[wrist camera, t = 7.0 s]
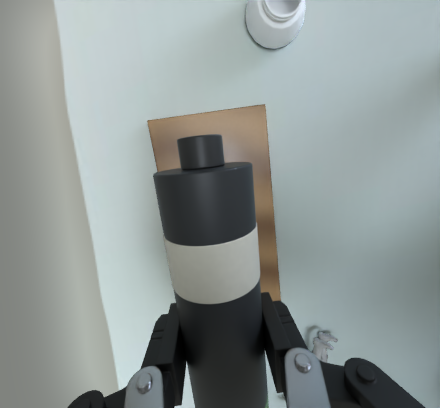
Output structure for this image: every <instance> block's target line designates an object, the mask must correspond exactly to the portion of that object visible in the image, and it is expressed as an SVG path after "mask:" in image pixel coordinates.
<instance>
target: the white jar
mask: <svg viewBox="0 0 440 408" xmlns="http://www.w3.org/2000/svg"><path fill="white" fill-rule="evenodd" d="M305 11H306V6H305V0H248V1H247V7H246V15H245V19H246V23H247V28H248V31H249V33H250V34H251V36H252V37H253V39H254V40H255V41H256V42H257V43H259V44H260V45H262V46H263V47H265V48H272V49H277V48H280V47H283V46H286V45H288V44H289V43H290V42H291V41H292V40H293V39H294V38H296V36H297V35H298V33H299V31H300V29H301V27H302V25H303V23H304V17H305Z"/></svg>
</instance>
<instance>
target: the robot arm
mask: <svg viewBox="0 0 440 408" xmlns="http://www.w3.org/2000/svg"><path fill="white" fill-rule="evenodd" d="M261 301H262V316H263V331H264V346H265V351H266V355H267V358H268V362H269V366H270V369H271V373H272V376H273V380H274V384H275V387H276V391H277V393H281V392H283V393H284V396H285V400H286V406H287V408H425V407H424V406H423V405H422V404H420V403H419V402H418V401H417V400H416V399H415V398H413V397H412V396H411V395H410V394H409V393H408V392H406V391H405V390H404V389H403V388H402V387H401V386H399V385H398V384H397V383H396V382H395V381H394V380H392V379H391V378H390V377H389V376H388V375H387V374H385V373H384V372H383V371H382V370H381V369H380V368H378V367H377V366H376V365H375V364H373V363H371V362H369V361H367V360H365V359H361V358H351V359H348V360H347V361H346V362H345V365H344V366H339V365H334V364H329V363H326V362H323V361H321V360H319V359H318V358H317V357H316V356H315V355H314V354H313V353H312V352H311V351H309V350H308V348H307V346H306V344H305V342H304V340H303V338H302V336H301V334H300V332H299V330H298V328H297V326H296V324H295V323H294V320H293V318H292V316H291V314H290V312H289V310H288V308H287V306H286V305H284V304H283V303H282V302H281V301H280V300H279V301H272V298H271V296H270V294H269V292H263V293H261ZM186 361H187V359H186V354H185V348H184V343H183V337H182V332H181V326H180V321H179V315H178V310H177V304H176V303H172V304H171V305H170V309H169V313H168V314H163V315H161V316H160V318H159V319H158V320H157V321H156V323H155V326H154V329H153V333H152V335H151V340H150V342H149V345H148V348H147V351H146V354H145V357H144V360H143V363H142V366H141V369H140V370H139V371H138V372H136V373H135V374H134V375H133V377H132V378H131V379H130V381H129V383H128V385H127V386H126V387H125V388H123V389H122V390H120V391H117V392H115V393H113V394H111V395H109V396H107V397H103V394H102V393H101V392H100V391H97V390H92V391H88V392H86V393H84V394H82V395H81V396H79V397H78V398H77V399H76V400H74V401H73V402H72V403H71V404H70V405H69V406H68V408H174V406H178V405H181V404H182V396H183V387H184V378H185V370H186Z"/></svg>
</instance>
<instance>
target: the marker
mask: <svg viewBox="0 0 440 408" xmlns="http://www.w3.org/2000/svg"><path fill="white" fill-rule="evenodd" d="M177 146H178V152H179V159H180V166H181V168H176V169H170V170H165V171H160V172H157V173H155V174H154V175H153V177H154V183H155V188H156V194H157V199H158V205H159V210H160V216H161V221H162V227H163V233H164V242H165V248H166V253H167V259H168V264H169V270H170V275H171V281H172V286H173V289H174V293H175V299H176V304H177V310H178V315H179V321H180V326H181V332H182V337H183V343H184V348H185V354H186V359H187V365H188V370H189V376H190V381H191V387H192V392H193V398H194V403H195V408H269V406H268V391H267V376H266V361H265V346H264V331H263V316H262V301H261V287H260V261H259V246H258V231H257V223H256V212H255V197H254V182H253V167H252V163H250V162H230V163H225V161H224V151H223V140H222V135H220V134H209V135H198V136H190V137H183V138H179V139H177Z"/></svg>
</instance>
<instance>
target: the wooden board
mask: <svg viewBox="0 0 440 408" xmlns="http://www.w3.org/2000/svg"><path fill="white" fill-rule="evenodd" d="M147 122H148V127H149V132H150V137H151V142H152V147H153V151H154V156H155V161H156V166H157V171H158V172H160V171H165V170H170V169H176V168H181V166H180V159H179V152H178V146H177V139H179V138H183V137H190V136H198V135H209V134H220V135H222V140H223V151H224V161H225V163H230V162H250V163H252V167H253V182H254V197H255V212H256V223H257V231H258V246H259V261H260V287H261V293H263V292H269V294H270V296H271V298H272V301H279V300H280V301H281V297H280V285H279V272H278V259H277V247H276V234H275V222H274V209H273V196H272V184H271V171H270V159H269V146H268V133H267V121H266V108H265V104H263V105H256V106H249V107H241V108H234V109H227V110H220V111H213V112H205V113H198V114H191V115H184V116H177V117H169V118H162V119H155V120H148V121H147Z"/></svg>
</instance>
